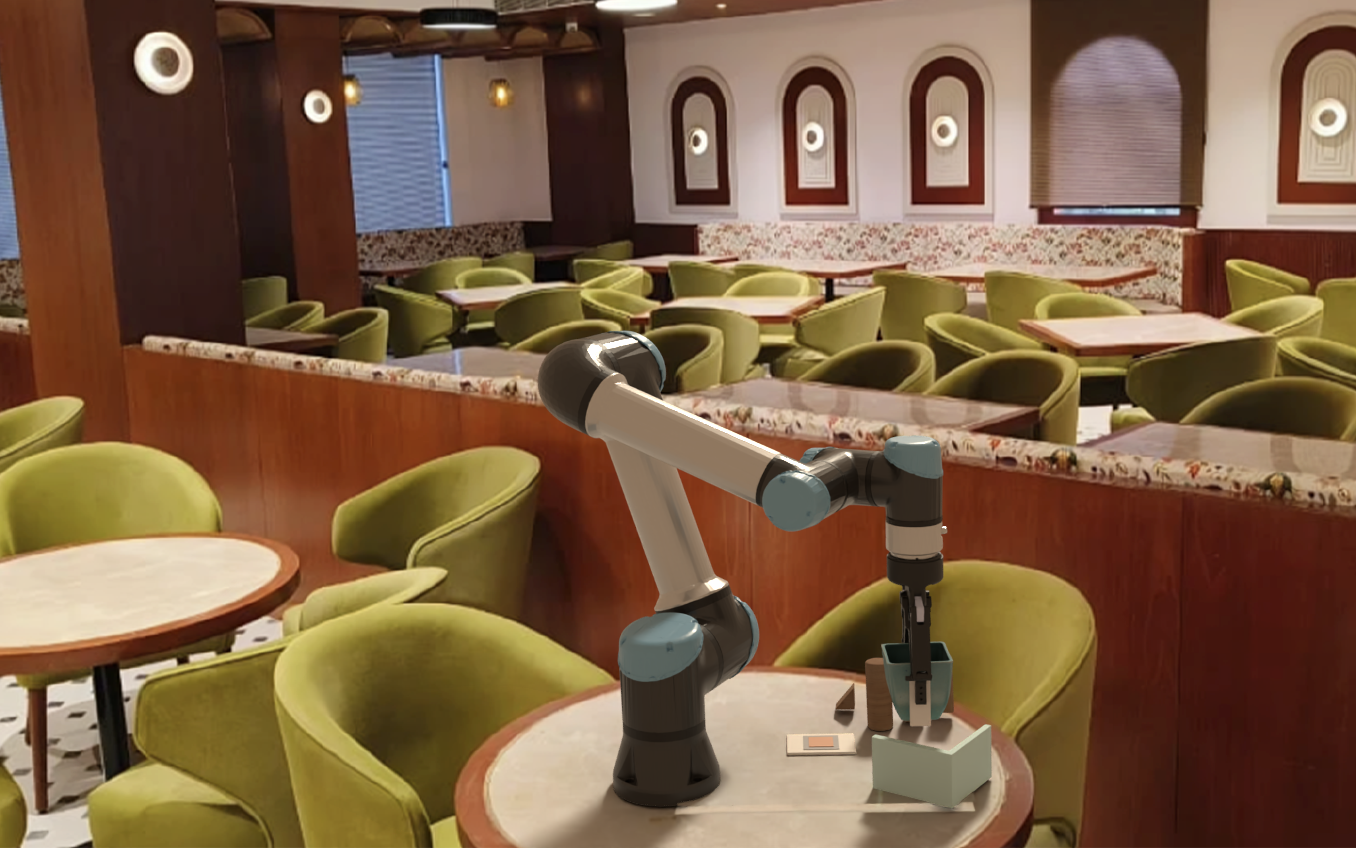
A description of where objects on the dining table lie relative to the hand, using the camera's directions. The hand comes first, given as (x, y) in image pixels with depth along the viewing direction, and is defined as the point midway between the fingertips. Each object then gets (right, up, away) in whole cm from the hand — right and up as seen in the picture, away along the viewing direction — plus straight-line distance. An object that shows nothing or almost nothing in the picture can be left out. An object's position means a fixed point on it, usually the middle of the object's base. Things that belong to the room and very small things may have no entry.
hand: (917, 712), depth 199 cm
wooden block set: (0, -7, +24) cm, 25 cm away
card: (-11, -8, +16) cm, 22 cm away
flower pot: (0, -1, 0) cm, 1 cm away
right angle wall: (+3, -10, +2) cm, 11 cm away
